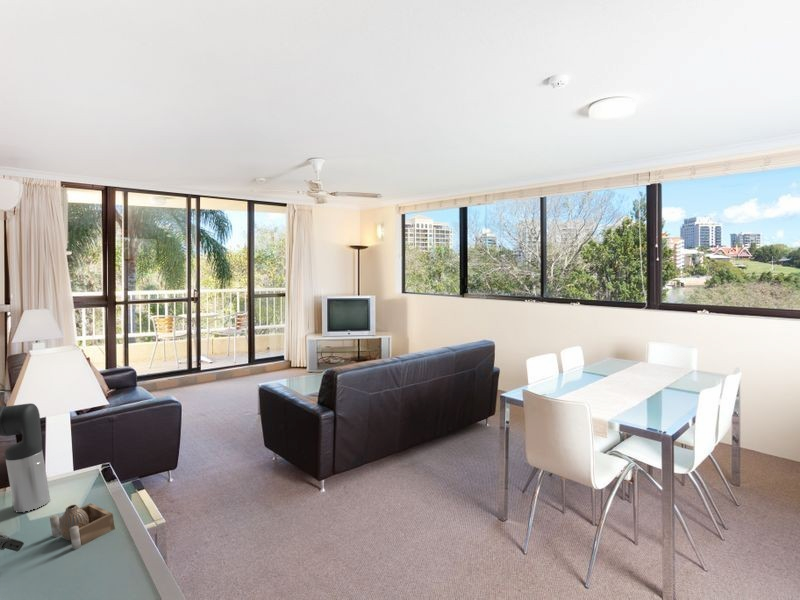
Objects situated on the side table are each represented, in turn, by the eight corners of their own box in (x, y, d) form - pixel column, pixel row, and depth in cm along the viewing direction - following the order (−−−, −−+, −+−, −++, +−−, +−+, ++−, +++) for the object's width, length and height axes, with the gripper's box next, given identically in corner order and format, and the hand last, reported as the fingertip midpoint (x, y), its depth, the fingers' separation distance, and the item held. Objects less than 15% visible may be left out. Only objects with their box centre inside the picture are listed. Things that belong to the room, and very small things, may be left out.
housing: (51, 536, 132) (48, 517, 131) (91, 517, 141) (89, 499, 140) (74, 550, 124) (71, 530, 124) (115, 529, 133) (113, 510, 132)
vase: (80, 543, 128) (75, 512, 127) (54, 544, 127) (49, 514, 127) (96, 528, 134) (91, 499, 133) (72, 529, 134) (67, 501, 133)
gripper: (-29, 516, 107) (42, 537, 118) (-48, 503, 114) (20, 525, 125) (-56, 551, 103) (20, 570, 114) (-75, 536, 110) (-1, 555, 121)
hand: (20, 546), depth 120 cm, fingers closed
